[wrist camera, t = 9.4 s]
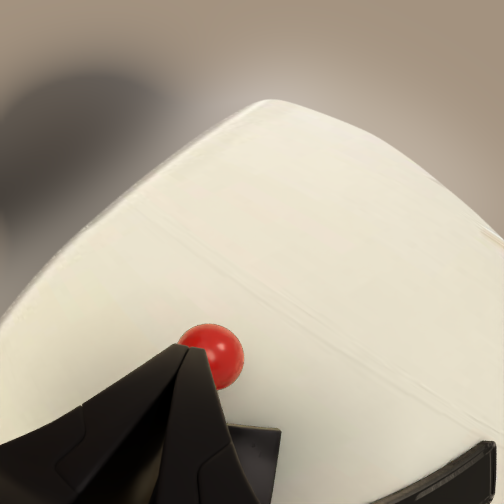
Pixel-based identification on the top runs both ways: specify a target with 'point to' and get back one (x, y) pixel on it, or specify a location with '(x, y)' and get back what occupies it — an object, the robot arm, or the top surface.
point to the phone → (455, 481)
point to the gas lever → (217, 351)
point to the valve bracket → (254, 458)
